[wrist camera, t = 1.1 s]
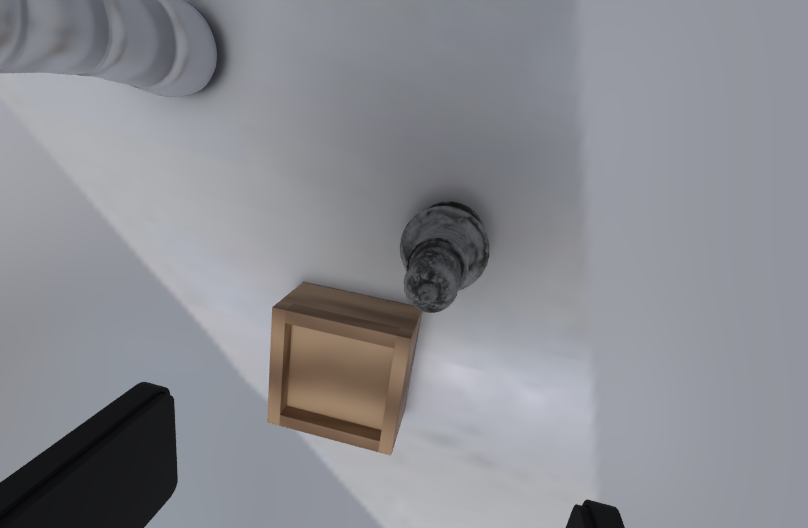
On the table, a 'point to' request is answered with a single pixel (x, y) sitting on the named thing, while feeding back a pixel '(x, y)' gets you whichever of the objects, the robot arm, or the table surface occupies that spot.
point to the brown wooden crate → (341, 365)
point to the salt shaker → (442, 254)
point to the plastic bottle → (110, 42)
